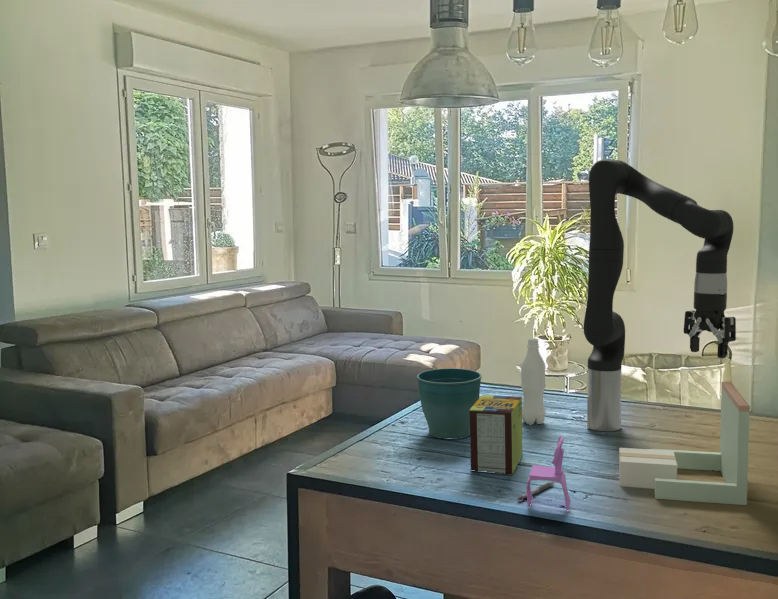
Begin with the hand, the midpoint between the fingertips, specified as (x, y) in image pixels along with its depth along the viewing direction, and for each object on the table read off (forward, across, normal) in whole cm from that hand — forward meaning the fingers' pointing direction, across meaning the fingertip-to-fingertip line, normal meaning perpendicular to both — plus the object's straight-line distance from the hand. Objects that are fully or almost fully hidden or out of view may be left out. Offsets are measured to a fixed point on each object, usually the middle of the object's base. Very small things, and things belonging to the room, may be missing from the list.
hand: (708, 354), depth 185 cm
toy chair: (+26, +11, -56) cm, 62 cm away
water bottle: (+26, -42, -23) cm, 54 cm away
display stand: (+25, +15, -20) cm, 35 cm away
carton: (+25, +9, -27) cm, 38 cm away
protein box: (+26, -17, -51) cm, 60 cm away
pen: (+26, +4, -54) cm, 60 cm away
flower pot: (+26, -44, -50) cm, 71 cm away
